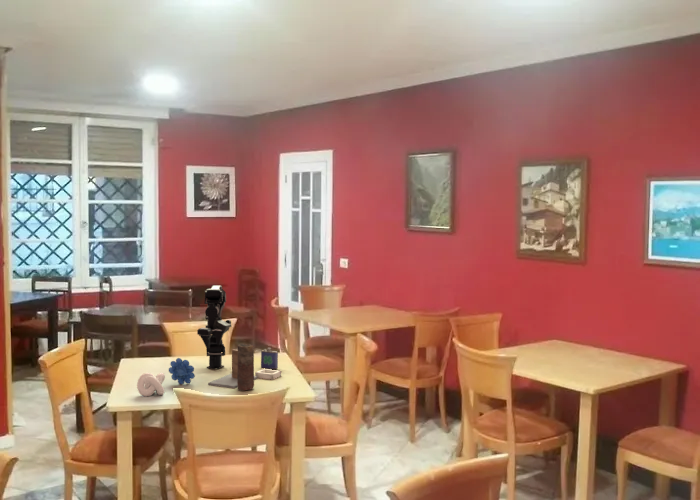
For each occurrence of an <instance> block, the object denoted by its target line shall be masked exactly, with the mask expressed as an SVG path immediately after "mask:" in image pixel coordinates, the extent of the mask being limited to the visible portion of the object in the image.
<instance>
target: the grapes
mask: <svg viewBox="0 0 700 500" xmlns="http://www.w3.org/2000/svg"><path fill="white" fill-rule="evenodd" d="M169 365H170V366H169V368H168V373H170V374H171V380H173V381H177V383H178V384H179V385H183V384H184V383H185V384H188V385H189V384H190V383H191V382H192V381H191V380H192V379H195V376H196V374H195V373H194V371H195V367H194V366H193V365H192V364H190V362H189V360H188V359H182V358H181V357H178V358H176V360H171V361H170V363H169Z"/></svg>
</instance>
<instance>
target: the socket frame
mask: <svg viewBox="0 0 700 500" xmlns="http://www.w3.org/2000/svg"><path fill="white" fill-rule="evenodd" d="M254 376H258V378H257V379H262V378H263V380H270V379H271V380H273V379H274V380H276V379H278V378H280V377H282V370H278V369H277V370H272V369H262V368H261V369H260V370H258V371H254ZM279 376H280V377H279ZM277 377H278V378H277ZM275 378H276V379H275Z"/></svg>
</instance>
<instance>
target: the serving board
mask: <svg viewBox="0 0 700 500" xmlns="http://www.w3.org/2000/svg"><path fill="white" fill-rule="evenodd" d="M257 379H259V378H258V376H255V375H254V381H255V380H257ZM207 385H208V386H214V387H223V388H229V389H236V388H237V379H236V378H233V377H232V372H231V373H229V374H226V375H224V376H222V377H219V378H217V379H215V380H211V381H209V382H207ZM237 389H238V388H237Z"/></svg>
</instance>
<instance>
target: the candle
mask: <svg viewBox="0 0 700 500" xmlns="http://www.w3.org/2000/svg"><path fill="white" fill-rule="evenodd" d="M254 348H255V347H254V345H251V344H250V343H248V344H245V343H239V344H237V349H238V369H237V391H240V392H241V391H247V390H249V391H250V390H253V388H255V380H254V376H255V368H254V367H255V364H254V363H255V349H254Z"/></svg>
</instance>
